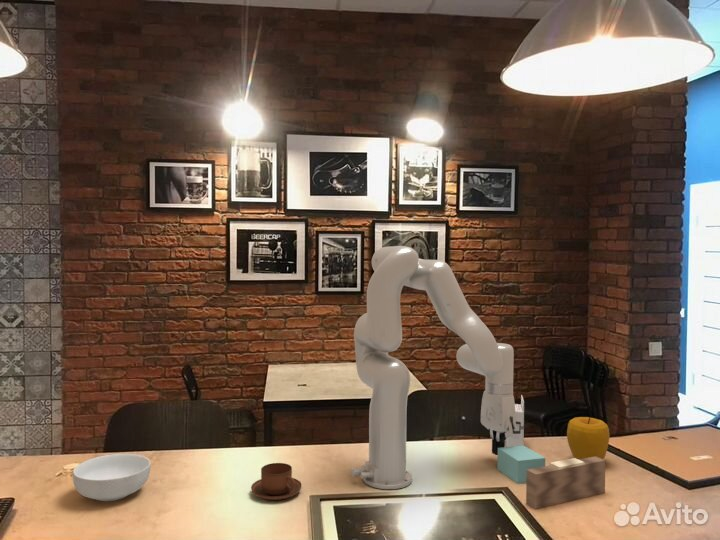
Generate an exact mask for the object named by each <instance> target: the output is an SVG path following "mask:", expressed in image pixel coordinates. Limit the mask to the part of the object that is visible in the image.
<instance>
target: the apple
mask: <svg viewBox="0 0 720 540" xmlns="http://www.w3.org/2000/svg"><path fill="white" fill-rule="evenodd" d="M610 435H611V434H610V429H609V425H608V424H607V423H605V422H604V421H603V420H601V419H598V418H594V417H589V416H579V417H578V416H577V417H576V416H575V417H574V418H572V419H569V421H568V423H567V430H566V439H567V443H568V447H569V450H570V452H571V454H572V456H573V458H576V459H578V460H579V459H585V458H590V457H595V456H596V457H598V458H601V459H603V460H605V457H606V455H607V451H608V447H609V443H610Z"/></svg>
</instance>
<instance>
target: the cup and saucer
mask: <svg viewBox="0 0 720 540" xmlns="http://www.w3.org/2000/svg"><path fill="white" fill-rule="evenodd" d="M260 473H261V474H260V479H258V480H256V481H255V482H253V483H252V484H251V487H250V488H251V492H252V493H253V494H254V495H255V496H256V497H258V498H260V499H264V500H268V501H269V500H270V501H271V500H272V501H273V500H274V501H279V500H284V499H288V498H291V497H293V496H295V495H296V494H298V493H299V491H301V489H302V483H301V480H298V479H297V478H294V477H292V476H293V467H292V466H291V465H290V464H288V463H283V462H273V463H268V464H265V465H264V466H262V467H261V468H260Z"/></svg>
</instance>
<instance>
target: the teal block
mask: <svg viewBox="0 0 720 540" xmlns="http://www.w3.org/2000/svg"><path fill="white" fill-rule="evenodd" d="M496 465H497V468H496V469H497V470H498V471H499V472H501V474H503V475H505V476H506V477H508V478H509V479H510V480H512V481H513V482H515V483H516V484H518V485H519V484H526V480H527V470H529V469H534V468H539V467H544V466H546V457H544V456H543V455H542V454H540V453H538V452H536V451H534V450H532V449H530V448H529V447H528V446H525V445H524V444H523V446H513V447H507V446H505V447H502V448H498V455H497V464H496Z"/></svg>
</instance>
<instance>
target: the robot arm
mask: <svg viewBox="0 0 720 540" xmlns="http://www.w3.org/2000/svg"><path fill="white" fill-rule="evenodd" d="M371 267H372V269H373V271H374V272H373V274H372V275H371V277H370V278H369V282H368V284H367V289H366V313H363V314H362V315H360V316H359V318H358V319H357V320H356V323H355V326H354V329H353V340H354V351H355V354H354V355H355V364H356V373H357V375H358V378H359V379H360V381H361V382H362V383H363V384H365V385H366V387H369V388H370V389H372V394H371V395H372V396H371V399H370V403H369V411H368V412H369V413H368V416H369V417H368V425H369V426H368V428H369V429H368V437H369V438H368V461H367V460H365V464H364V465H362V467H354V468H351V470H350V473H351V476H352V477H358V476H360V479H362V481H363V482H364V484H366V485H367V486H369V487H372V488H376V489H379V490H397V489H401V488H406V487H407V486H410V484H412V481H413V475H412V474H411V472H410V471H408V470H407V414H408V413H407V411H408V410H407V406H408V398H409V397H408V396H409V392H410V386H411V374H410V371H409V368H408V367H407V366H406V363H404V362H403V361H401V360H400V359H398V358H396V357H393V356H391V355H389V353H391V352H392V353H393V352H395V351H396V350H398V348H399V347H400V346H401V344H402V342H403V325H402V312H401V293H402V290H403V289H404V288H403V287H404V286H405V287H408V288H411V289H415V290H419V291H425V292H426V294H427V296H428V298H429V301H430V302H431V305H432V306H433V308H434V310H435V312H436V314H437V316H438V318H439V320H440V322H441V323H442V324H443V325H444V326H445V327H446V328H448V329H449V330H450V331H452V332H454V334H456V335H457V336H459V337H460V339H461V340H463V342H464V344H462V345H461V346H460V347H459V348H458V350H457V352H456V354H455V356H456V357H455V358H456V361H457V364H458V365H459V366H460V367H461V368H463V370H467V371H469V372H472V373H476V374H479V375H481V376H484V377H485V383H484V384H485V386H484V389H485V390H484V391H483V394H482V398H481V405H480V408H481V409H480V423H481V425H482V426H484V428H486V430H488V431H489V435H490V439H491V454H493V455H495V456H498V448H502V447H506V439H507V438H510V437H513V431H514V430H515V426H516V412H515V404H516V403H515V397H514V356H515V353H514V347H513V346H512V345H511V344H508V343H503V342H502V343H501V342H497V340H496V338H495V337H494V335H493V333H492V332H491V330H490V328H488V327H487V325H486V324H485V323H484V322H483V321H482V320H481V318H480V317H479V316H478V315H477V314H476V313H475V311H474V310H472V308H471V307H470V305H469V303H468V302H467V300H466V297H465V295H464V293H463V291H462V289H461V287H460V285H459V283H458V280H457V278H456V277H455V274H454V272H453V270H452V269H451V266H450V265H449V264H448V263H447V262H446V261H444V260H441V259H440V260H439V259H423V258H419V253H418V252H417V251H416V250H415V249H414V248H412V247H410V246H406V245H394V246H382V247H380V248H378V249H377V250H376V251H375V252H374V253H373V256H372V258H371Z"/></svg>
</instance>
